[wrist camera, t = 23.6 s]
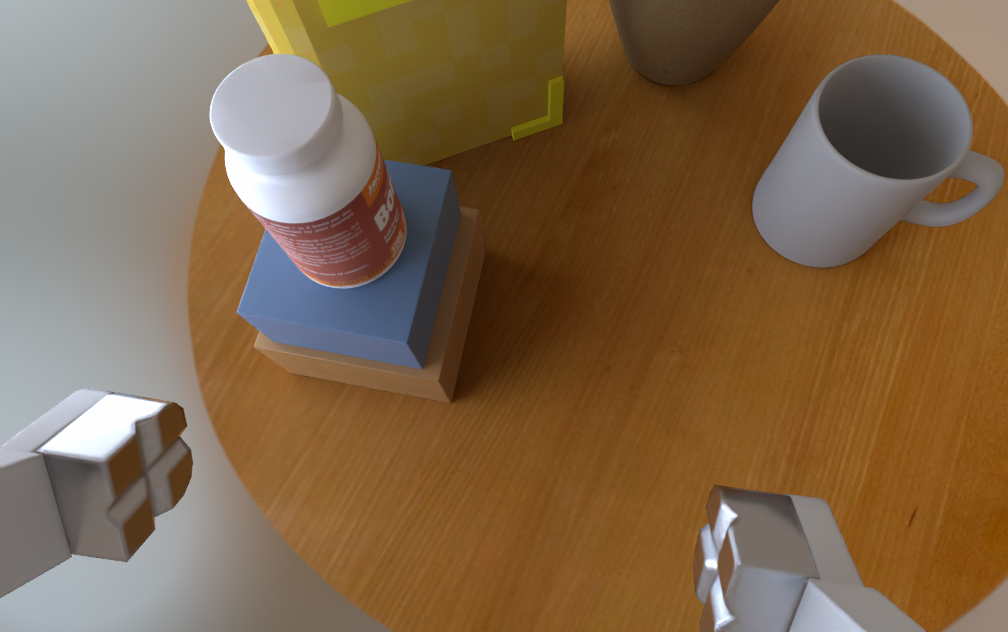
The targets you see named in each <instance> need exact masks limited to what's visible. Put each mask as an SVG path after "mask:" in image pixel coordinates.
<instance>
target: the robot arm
mask: <svg viewBox="0 0 1008 632" xmlns="http://www.w3.org/2000/svg"><path fill="white" fill-rule="evenodd" d="M186 427H187V423H186V418H185V414H184V409H183V408H182V407H181V406H179V405H178V404H177V403H174V402H169V401H163V400H157V399H151V398H146V397H140V396H134V395H129V394H123V393H114V392H109V391H103V390H97V389H91V388H88V389H81V390H77V391H75V392H74V393H73V394H71V395H70V396H68V397H67V398H66V399H65V400H63V401H62V402H60V403H59V404H57V405H56V406H55V407H53V408H52V409H51V410H49V411H48V412H47V413H45V414H44V415H43V416H41V417H40V418H38V419H37V420H36V421H34V422H33V423H31V424H30V425H29V426H28V427H26V428H25V429H23V430H22V431H20V432H19V433H18V434H16V435H15V436H14V437H12V438H11V439H10V440H8V441H7V442H5V443H4V444H3V445H1V446H0V598H2V597H3V596H5V595H7V594H8V593H10V592H12V591H14V590H15V589H17V588H19V587H21V586H22V585H24V584H26V583H27V582H29V581H31V580H33V579H35V578H36V577H38V576H40V575H41V574H43V573H45V572H47V571H48V570H50V569H52V568H54V567H55V566H57V565H59V564H60V563H62V562H64V561H66V560H67V559H69V558H70V557H72V556H71V554H74V555H81V556H88V557H96V558H102V559H109V560H116V561H123V562H128V560H129V559H130V558H131V557H132V556H133V554H134V553H135V552H136V551H137V550H138V549H139V548H140V546H141V545H142V544H143V543H144V542H145V541H146V539H147V538H148V537H149V536H150V535H151V534H152V532H153V531H154V530H155V517H156V516H158V515H160V514H163V513H165V512H167V511H169V510H171V509H173V508H174V507H175V505H176V504H177V503H178V502H179V500H180V499H181V498H182V497H183V495H184V494H185V491H186V489H187V486H188V484H189V482H190V479H191V476H192V465H193V460H192V454H191V449H190V448H189V447H188V445H187V444H186V443H185V442H184V441H183V440H182V438H181V437H180V435H181V434H182V432H183V431H184V430H185V428H186ZM706 508H707V514H708V520H709V523H708V524H707V525H706V526H704V527H703V528H701V529H700V531H699V535H698V539H697V544H696V548H695V558H694V584H695V592H696V596H697V598H698V599H699V600H700V601H701V602H702V603H703V604H704V609H703V612H702V616H701V620H700V628H701V632H927V631H926V630H924V629H923V628H922V627H921V626H920V625H918V624H917V623H916V622H915V621H914V620H912V619H911V618H910V617H909V616H908V615H906V614H905V613H904V612H903V611H902V610H901V609H899V608H898V607H897V606H896V605H895V604H893V603H892V602H891V601H890V600H889V599H887V598H886V597H885V596H884V595H883V594H882V593H880V592H879V591H878V590H877V589H873V588H867V587H865V586H864V584H863V582H862V579H861V577H860V575H859V573H858V570H857V568H856V566H855V564H854V561H853V559H852V557H851V555H850V552H849V550H848V548H847V545H846V543H845V541H844V539H843V536H842V534H841V532H840V530H839V527H838V525H837V523H836V520H835V518H834V516H833V514H832V511H831V509H830V507H829V505H828V503H827V502H826V501H825V500H823V499H822V498H815V497H807V496H799V495H791V494H785V495H782V494H775V493H769V492H762V491H755V490H748V489H741V488H734V487H728V486H721V485H714V486H713V488H712V490H711V492H710V494H709V498H708V501H707V505H706Z"/></svg>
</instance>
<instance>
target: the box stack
mask: <svg viewBox="0 0 1008 632" xmlns="http://www.w3.org/2000/svg"><path fill="white" fill-rule="evenodd" d="M384 162H385V165H386V167H387V170H388V172H389V175H390V177H391V180H392V183H393V185H394V188H395V191H396V193H397V196H398V198H399V201H400V204H401V206H402V209H403V212H404V215H405V219H406V226H407V233H406V240H405V244H404V247H403V250H402V252H401V254H400V256H399V258H398V259H397V261H396V262H395V263H394V265H393V266H392V267H391V268H390V269H389V270H388V271H387V272H386V273H384V274H383V275H382V276H381V277H379V278H377V279H376V280H374V281H372V282H370V283H368V284H365V285H362V286H359V287H354V288H347V289H340V288H332V287H327V286H324V285H321V284H319V283H317V282H315V281H313V280H311V279H310V278H309V277H307V276H306V275H305V274H304V273H303V272H302V271H301V270H300V269H299V268H298V267H297V266H296V265H295V264H294V263H293V261H292V260H291V259H290V258H289V256H288V255H287V254H286V253H285V251H284V250H283V249H282V248H281V246H280V245H279V244H278V243H277V242H276V240H275V239H274V238H273V237H272V236H271V234H270V233H269V232H268V231H267V229H266V230H265V233H264V236H263V239H262V241H261V244H260V247H259V250H258V253H257V256H256V259H255V262H254V264H253V267H252V270H251V273H250V276H249V279H248V282H247V285H246V287H245V290H244V293H243V296H242V299H241V302H240V305H239V308H238V311H237V313H238V314H239V315H240V316H241V317H243V318H244V319H245V320H246V321H248V322H249V323H250V324H251V325H253V326H254V327H255V328H256V329H258V330H259V334H258V337H257V340H256V343H255V346H254V347H255V348H256V349H258V350H259V351H260V352H262V353H263V354H265V355H266V356H267V357H269V358H270V359H271V360H273V361H274V362H276V363H277V364H278V365H280V366H281V367H283V368H284V369H285V370H287V371H288V372H289V373H293V374H298V375H303V376H308V377H314V378H319V379H324V380H329V381H335V382H340V383H345V384H351V385H356V386H361V387H366V388H372V389H377V390H382V391H388V392H393V393H398V394H403V395H409V396H414V397H419V398H424V399H430V400H435V401H440V402H446V403H451V402H452V398H453V394H454V389H455V385H456V380H457V376H458V372H459V367H460V363H461V358H462V354H463V350H464V345H465V341H466V336H467V332H468V328H469V323H470V319H471V315H472V310H473V306H474V301H475V297H476V293H477V288H478V284H479V279H480V275H481V271H482V266H483V262H484V257H485V253H486V248H485V242H484V236H483V230H482V224H481V218H480V212H479V209H475V208H468V207H462V206H459V201H458V197H457V192H456V188H455V183H454V179H453V174H452V170H448V169H442V168H435V167H429V166H422V165H415V164H409V163H402V162H396V161H389V160H384Z"/></svg>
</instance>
